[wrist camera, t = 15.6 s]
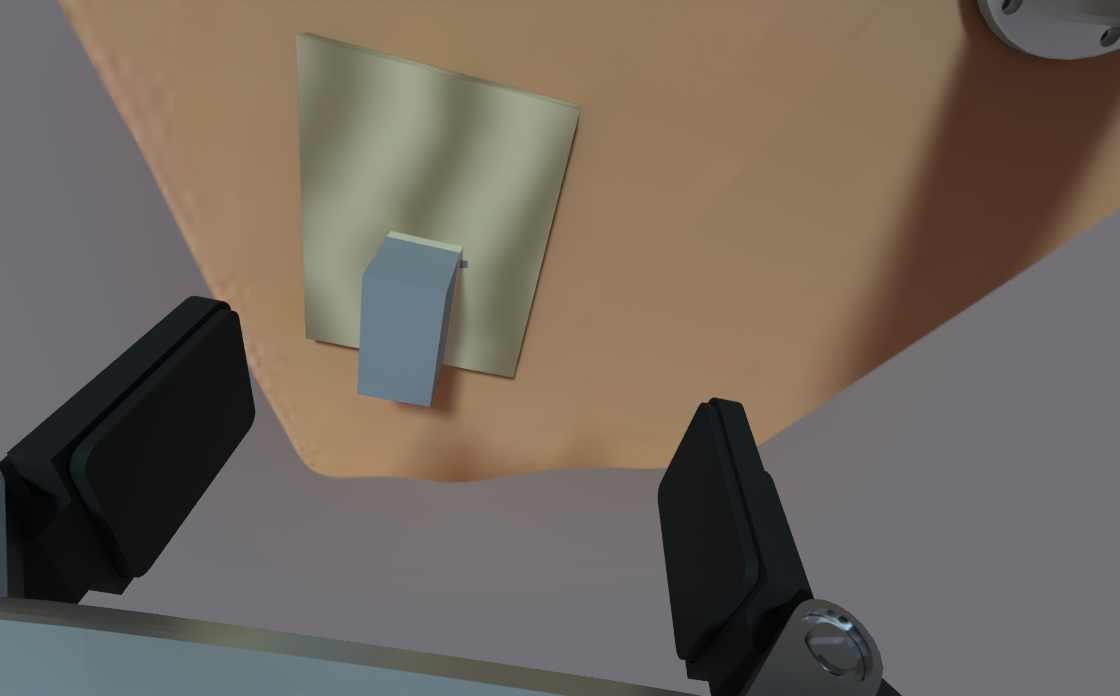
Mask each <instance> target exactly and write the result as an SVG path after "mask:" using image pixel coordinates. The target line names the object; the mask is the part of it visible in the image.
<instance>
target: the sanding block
mask: <svg viewBox="0 0 1120 696" xmlns="http://www.w3.org/2000/svg"><path fill="white" fill-rule="evenodd" d="M461 252H462V247H461V246H456V245H452V244H447V243H443V242H438V241H434V240H429V239H425V238H420V237H416V236H411V235H407V234H403V233H398V232H394V231H390V232H389V234H388V236H387V237H386V239H385V240H384V242H383V243H382V245H381V247H380V248H379V250H378V251H377V253H376V254H375V256H374V257H373V259H372V261H371V262H370V264H369V265H368V267H367V268H366V270H365V271H364V273H363V275H362V294H361V319H360V343H359V368H358V393H357V394H360V395H365V396H371V397H376V398H382V399H387V400H393V401H398V402H404V403H409V404H415V405H420V406H426V407H430V405H431V402H432V398H433V395H434V391H435V388H436V385H437V381H438V378H439V374H440V371H441V368H442V364H443V361H444V358H445V354H446V349H447V342H448V336H449V329H450V323H451V317H452V310H453V304H454V297H455V291H456V284H457V278H458V272H459V265H460V259H461Z"/></svg>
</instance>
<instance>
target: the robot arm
mask: <svg viewBox="0 0 1120 696" xmlns="http://www.w3.org/2000/svg"><path fill="white" fill-rule="evenodd" d="M977 3H978V6H979V10H980V13H981V14H982V16H983V18H984V19H985V21H986V23H987V24H988V26H989V28H990V30H991V31H992V32H993V33H994V34H995V35H996V36H997V37H999V38H1000V39H1001V40H1002V41H1003V42H1004V43H1005V44H1006V45H1008V46H1010V47H1012V48H1014V49H1016V50H1018V51H1020V52H1023V53H1025V54H1029V55H1034V56H1038V57H1043V58H1047V59H1063V60H1075V59H1082V58H1089V57H1095V56H1100V55H1103V54H1106V53H1109V52H1112V51H1115V50H1118V49H1120V0H977ZM254 418H255V406H254V400H253V395H252V389H251V383H250V377H249V372H248V366H247V360H246V354H245V349H244V343H243V337H242V331H241V325H240V320H239V316H238V314H237V312H235V311H231V308H230V306H229V304H228V303H226V302H224V301H219V300H214V299H209V298H204V297H198V296H191V297H189V298H187V299H186V300H185V301H184V302H182V303H181V304H180V305H179V306H178V307H177V308H175V309H174V310H173V311H172V312H171V313H170V314H168V315H167V316H166V317H165V318H164V319H162V320H161V321H160V322H159V323H158V324H157V325H155V326H154V327H153V328H152V329H151V330H150V331H148V332H147V333H146V334H145V335H144V336H143V337H141V339H139V340H138V341H137V342H136V343H134V344H133V345H132V346H131V347H130V348H129V349H128V350H126V351H125V352H124V353H123V354H122V355H121V356H119V357H118V358H117V359H116V360H115V361H113V362H112V363H111V364H110V365H109V366H108V367H107V368H105V369H104V370H103V371H102V372H101V373H99V374H98V375H97V376H96V377H95V378H94V379H92V380H91V381H90V382H89V383H88V384H87V385H85V386H84V387H83V388H82V389H81V390H80V391H79V392H77V393H76V394H75V395H74V396H73V397H71V398H70V399H69V400H68V401H67V402H66V403H65V404H63V405H62V406H61V407H60V408H59V409H58V410H56V411H55V412H54V413H53V414H52V415H50V416H49V417H48V418H47V419H46V420H45V421H43V422H42V423H41V424H40V425H39V426H38V427H36V428H35V429H34V430H33V431H32V432H31V433H30V434H29V435H27V436H26V437H25V438H24V439H22V440H21V441H20V442H19V443H18V444H17V445H15V446H14V447H13V448H12V449H11V450H10V451H9V452H7V454H8V455H7V456H6V457H5V458H4V459H3V460H2V461H0V696H698V695H694V694H689V693H682V692H677V691H671V690H665V689H659V688H653V687H648V686H642V685H636V684H629V683H624V682H617V681H612V680H606V679H599V678H593V677H586V676H579V675H573V674H566V673H559V672H553V671H546V670H539V669H533V668H526V667H519V666H513V665H506V664H500V663H493V662H485V661H479V660H473V659H466V658H459V657H453V656H446V655H439V654H432V653H425V652H418V651H411V650H405V649H397V648H391V647H384V646H377V645H370V644H363V643H356V642H350V641H343V640H336V639H329V638H322V637H315V636H308V635H301V634H294V633H286V632H280V631H272V630H266V629H258V628H252V627H244V626H237V625H230V624H223V623H216V622H208V621H201V620H194V619H187V618H180V617H173V616H166V615H159V614H151V613H144V612H136V611H128V610H120V609H112V608H104V607H96V606H87V605H79V604H78V603H79V602H80V600H81V599H82V598H83V597H84V595H85V594H86V593H87V592H88V590H92V591H99V592H106V593H112V594H119V595H121V594H122V593H123V592H124V590H125V589H126V588H127V586H128V585H129V584H130V582H131V581H132V579H133V578H134V577H138V578H139V577H141V576H143V575H144V574H145V573H146V572H147V571H148V570H149V569H150V568H151V566H152V565H153V564H154V562H155V560H156V559H157V558H158V556H159V555H160V554H161V552H162V551H163V550H164V548H165V547H166V545H167V544H168V543H169V541H170V540H171V538H172V537H173V535H174V534H175V533H176V531H177V530H178V528H179V527H180V525H181V524H182V523H183V521H184V520H185V519H186V517H187V516H188V515H189V513H190V512H191V510H192V509H193V508H194V506H195V505H196V503H197V502H198V500H199V499H200V498H201V496H202V495H203V494H204V492H205V491H206V489H207V488H208V487H209V485H210V484H211V482H212V481H213V480H214V478H215V477H216V475H217V474H218V473H219V471H220V470H221V468H222V467H223V466H224V464H225V463H226V462H227V460H228V459H229V457H230V456H231V455H232V453H233V452H234V450H235V449H236V448H237V446H238V444H239V443H240V442H241V441H242V439H243V438H244V436H245V435H246V433H247V432H248V431H249V429H250V428H251V426H252V424H253V421H254ZM658 505H659V514H660V522H661V530H662V539H663V547H664V555H665V563H666V571H667V579H668V588H669V595H670V604H671V612H672V620H673V628H674V636H675V645H676V651H677V655H678V657H679V658H680V659H682V660H685V662H686V669H687V677H688V679H695V680H702V681H709V687H710V693H711V696H902V695H900V694H899V693H898V692H897V691H896V690H895V689H894V688H893V687H892V686H890V685H889V684H888V683H887V682H886V681H885V680H884V679H883V678H882V673H883V664H882V659H881V655H880V652H879V650H878V648H877V645H876V643H875V642H874V639H873V638H872V636H871V635H870V634H869V632H868V631H867V630H866V629H865V627H864V626H863V624H862V623H860V622H859V621H858V620H857V619H856V618H855V617H854V616H853V615H852V614H851V613H849V612H848V611H846V610H845V609H843V608H842V607H840V606H839V605H837V604H834V603H831V602H829V601H826V600H820V599H814V597H813V594H812V591H811V588H810V586H809V583H808V580H807V577H806V574H805V571H804V568H803V565H802V562H801V559H800V557H799V554H798V551H797V548H796V545H795V542H794V539H793V536H792V534H791V531H790V528H789V525H788V522H787V519H786V516H785V513H784V510H783V507H782V504H781V502H780V499H779V496H778V493H777V490H776V487H775V484H774V481H773V479H772V478H771V475H770V474H769V473H767V472H766V471H764V468H763V465H762V462H761V459H760V456H759V453H758V450H757V447H756V444H755V441H754V438H753V435H752V432H751V429H750V426H749V423H748V420H747V417H746V414H745V411H744V408H743V406H742V404H741V403H739V402H735V401H730V400H725V399H719V398H712V399H710V400H709V402H708V403H701V404H700V405H699V407H698V409H697V411H696V413H695V415H694V417H693V419H692V421H691V423H690V425H689V427H688V429H687V431H686V433H685V435H684V437H683V439H682V441H681V443H680V445H679V447H678V449H677V451H676V453H675V455H674V457H673V459H672V461H671V463H670V465H669V467H668V469H667V471H666V473H665V475H664V477H663V479H662V481H661V483H660V486H659V490H658Z"/></svg>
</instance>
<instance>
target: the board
mask: <svg viewBox="0 0 1120 696" xmlns="http://www.w3.org/2000/svg"><path fill="white" fill-rule="evenodd" d="M296 40H297V72H298V103H299V134H300V166H301V197H302V228H303V260H304V291H305V323H306V338H307V339H313V340H318V341H323V342H328V343H334V344H339V345H344V346H349V347H355V348H359V343H360V319H361V294H362V275H363V273H364V271H365V270H366V268H367V267H368V265H369V264H370V262H371V261H372V259H373V257H374V256H375V254H376V253H377V251H378V250H379V248H380V247H381V245H382V243H383V242H384V240H385V239H386V237H387V236H388V234H389V232H390V231H394V232H398V233H403V234H407V235H411V236H416V237H420V238H425V239H429V240H434V241H438V242H443V243H447V244H452V245H456V246H461V247H462V252H461V259H460V265H459V272H458V278H457V284H456V291H455V297H454V304H453V310H452V317H451V323H450V329H449V336H448V342H447V349H446V354H445V358H444V361H443V364H444V365H449V366H454V367H460V368H465V369H470V370H475V371H481V372H486V373H491V374H496V375H502V376H507V377H512V378H513V377H514V373H515V369H516V365H517V361H518V357H519V353H520V349H521V345H522V341H523V337H524V333H525V329H526V325H527V321H528V317H529V313H530V309H531V305H532V301H533V297H534V293H535V289H536V285H537V281H538V277H539V273H540V268H541V264H542V260H543V256H544V252H545V248H546V244H547V240H548V236H549V232H550V228H551V224H552V220H553V216H554V212H555V208H556V204H557V200H558V196H559V192H560V188H561V184H562V180H563V176H564V172H565V168H566V164H567V160H568V156H569V152H570V148H571V144H572V140H573V136H574V132H575V128H576V124H577V120H578V116H579V112H580V106H579V105H576V104H572V103H568V102H565V101H561V100H557V99H553V98H550V97H546V96H542V95H538V94H535V93H531V92H527V91H523V90H520V89H516V88H512V87H508V86H505V85H501V84H497V83H493V82H490V81H486V80H482V79H478V78H475V77H471V76H467V75H463V74H460V73H456V72H452V71H448V70H445V69H441V68H437V67H433V66H430V65H426V64H422V63H418V62H415V61H411V60H407V59H403V58H400V57H396V56H392V55H388V54H385V53H381V52H377V51H373V50H370V49H366V48H362V47H358V46H354V45H351V44H347V43H343V42H339V41H336V40H332V39H328V38H324V37H321V36H317V35H313V34H309V33H302V34H299V35H296Z"/></svg>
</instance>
